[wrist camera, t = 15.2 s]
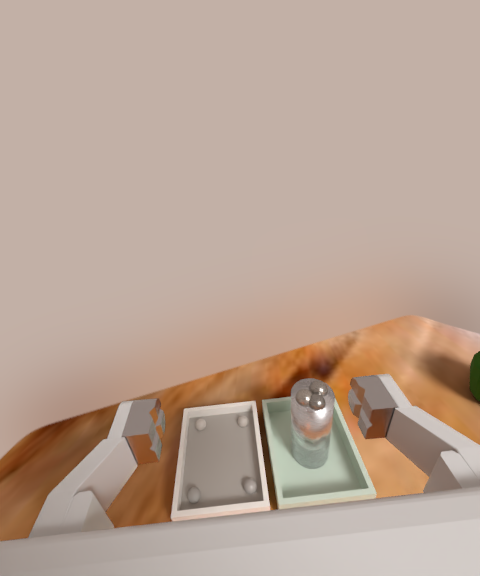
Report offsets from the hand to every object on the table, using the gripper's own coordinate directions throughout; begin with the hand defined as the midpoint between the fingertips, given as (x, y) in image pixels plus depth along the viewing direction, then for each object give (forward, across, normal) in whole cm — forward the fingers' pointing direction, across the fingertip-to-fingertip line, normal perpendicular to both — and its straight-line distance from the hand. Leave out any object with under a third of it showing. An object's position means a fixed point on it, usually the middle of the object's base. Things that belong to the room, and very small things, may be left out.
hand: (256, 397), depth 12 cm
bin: (+14, -8, +30) cm, 34 cm away
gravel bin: (+14, +4, +30) cm, 33 cm away
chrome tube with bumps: (+14, -8, +29) cm, 33 cm away
